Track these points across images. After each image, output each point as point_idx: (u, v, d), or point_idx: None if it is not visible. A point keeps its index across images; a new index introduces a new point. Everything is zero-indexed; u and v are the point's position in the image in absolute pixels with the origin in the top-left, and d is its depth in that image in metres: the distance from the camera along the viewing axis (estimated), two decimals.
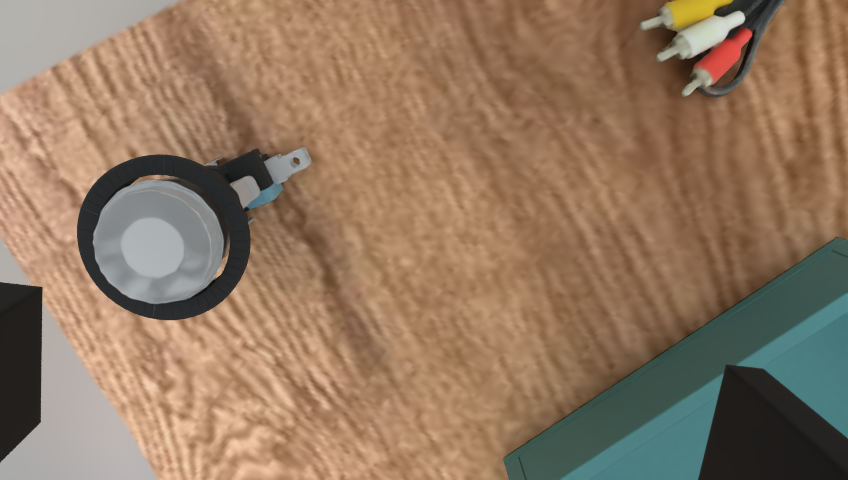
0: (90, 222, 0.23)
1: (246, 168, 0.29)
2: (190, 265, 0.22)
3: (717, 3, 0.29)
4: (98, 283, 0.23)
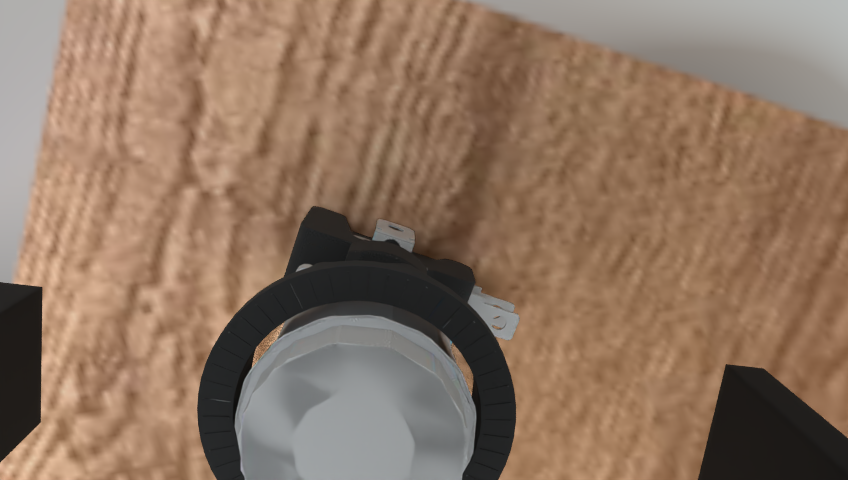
0: (280, 309, 0.12)
1: None
2: None
3: None
4: (202, 395, 0.12)
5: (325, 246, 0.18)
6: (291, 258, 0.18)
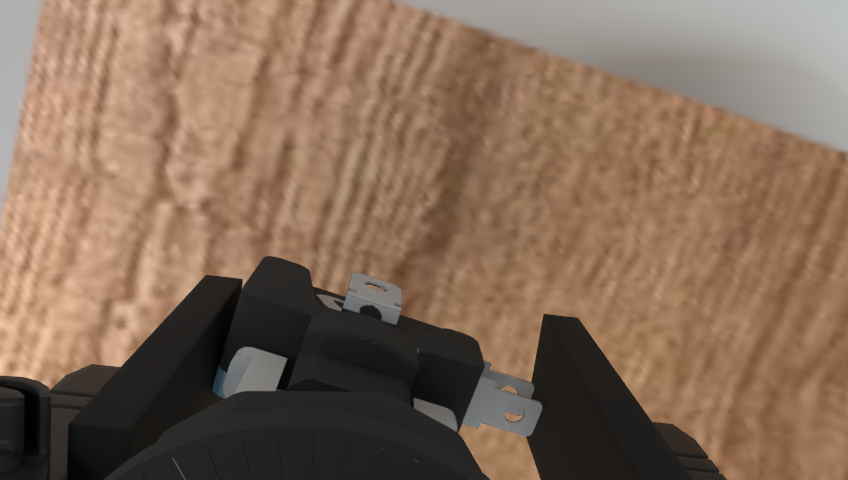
0: None
1: (453, 387, 0.13)
2: None
3: None
4: None
5: (276, 321, 0.13)
6: (229, 336, 0.13)
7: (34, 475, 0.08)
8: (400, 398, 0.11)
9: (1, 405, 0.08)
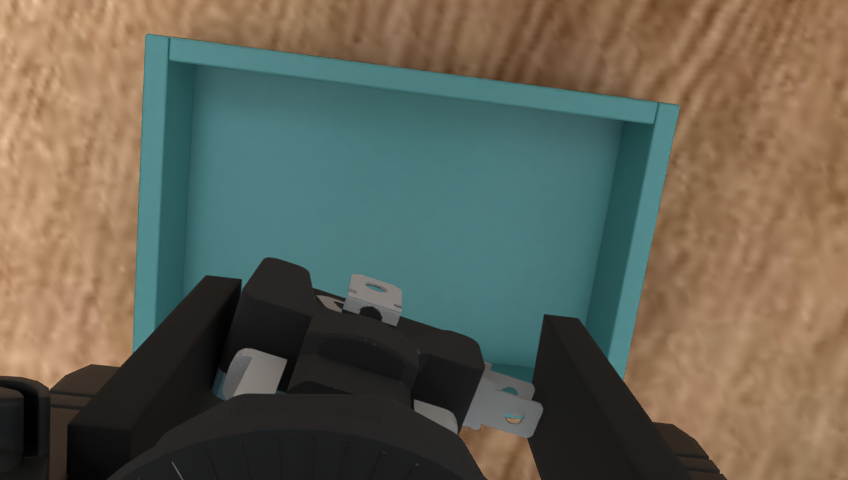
0: None
1: (453, 389, 0.13)
2: None
3: None
4: None
5: (275, 322, 0.13)
6: (229, 337, 0.13)
7: (34, 475, 0.08)
8: (400, 400, 0.11)
9: (1, 405, 0.08)
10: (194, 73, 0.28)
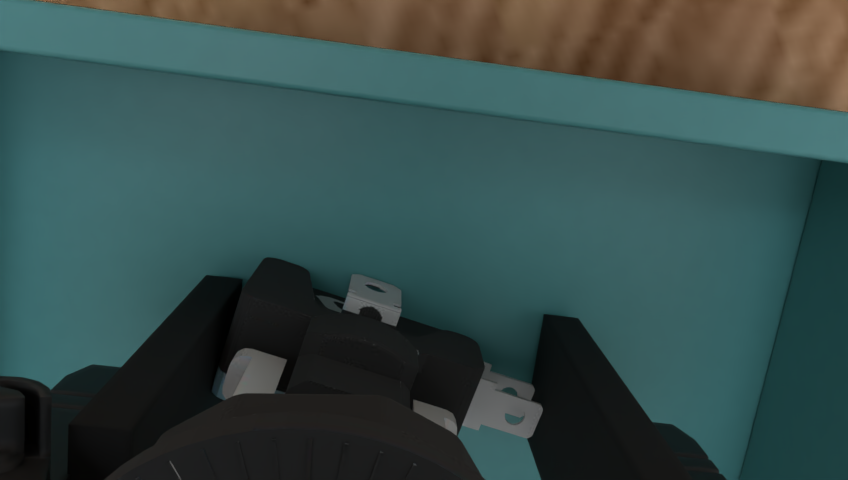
0: None
1: (453, 389, 0.13)
2: None
3: None
4: None
5: (275, 322, 0.13)
6: (229, 337, 0.13)
7: (35, 475, 0.08)
8: (400, 400, 0.11)
9: (2, 405, 0.08)
10: None
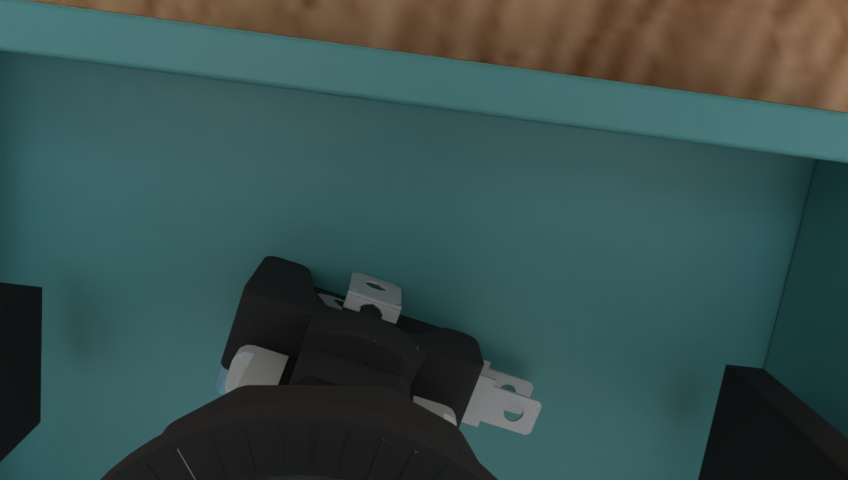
0: None
1: (453, 385, 0.13)
2: None
3: None
4: None
5: (277, 319, 0.13)
6: (231, 334, 0.13)
7: None
8: (400, 395, 0.12)
9: None
10: None
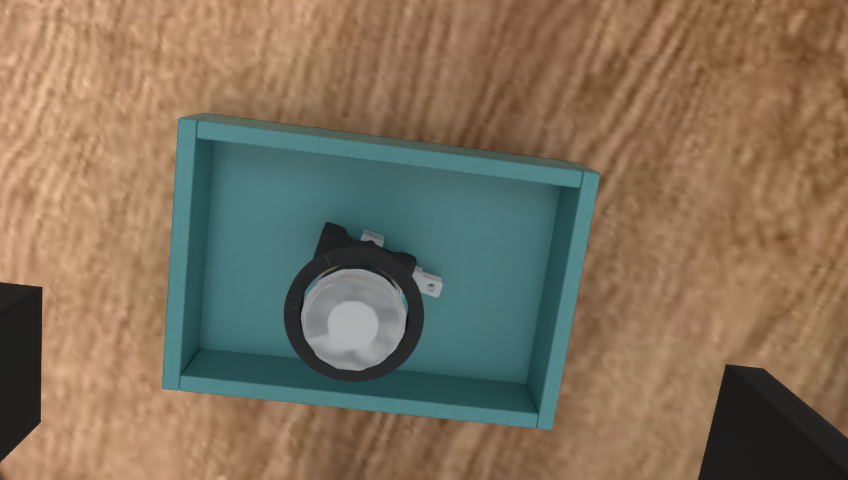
0: (321, 267, 0.27)
1: None
2: (364, 355, 0.27)
3: None
4: (286, 305, 0.27)
5: (334, 243, 0.33)
6: (316, 250, 0.34)
7: None
8: None
9: None
10: (213, 142, 0.35)
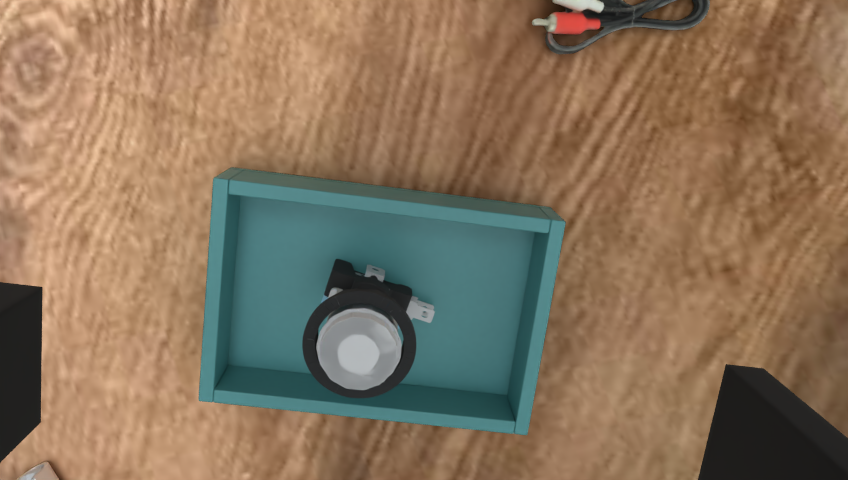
0: (332, 306, 0.34)
1: (401, 302, 0.40)
2: (367, 377, 0.33)
3: None
4: (304, 337, 0.34)
5: (343, 279, 0.40)
6: (327, 284, 0.40)
7: None
8: None
9: None
10: None
